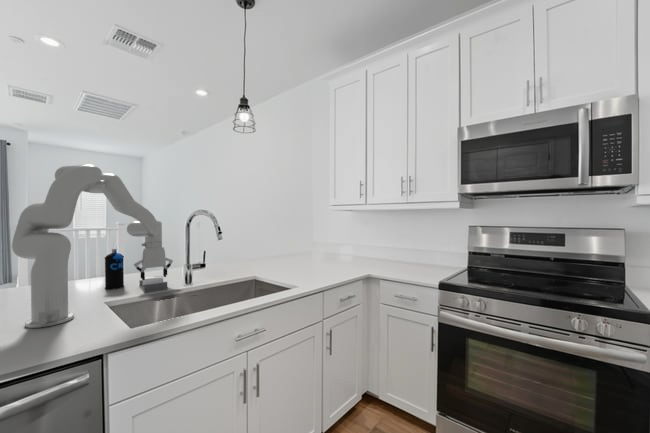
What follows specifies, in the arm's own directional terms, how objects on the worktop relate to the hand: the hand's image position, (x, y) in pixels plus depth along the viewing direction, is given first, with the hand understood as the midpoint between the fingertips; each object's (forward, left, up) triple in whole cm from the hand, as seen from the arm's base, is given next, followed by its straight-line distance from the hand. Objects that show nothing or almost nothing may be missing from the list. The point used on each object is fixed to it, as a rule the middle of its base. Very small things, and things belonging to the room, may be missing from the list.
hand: (154, 278), depth 150 cm
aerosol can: (+14, +16, -5) cm, 22 cm away
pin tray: (0, +1, -5) cm, 5 cm away
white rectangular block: (0, +1, -2) cm, 2 cm away
